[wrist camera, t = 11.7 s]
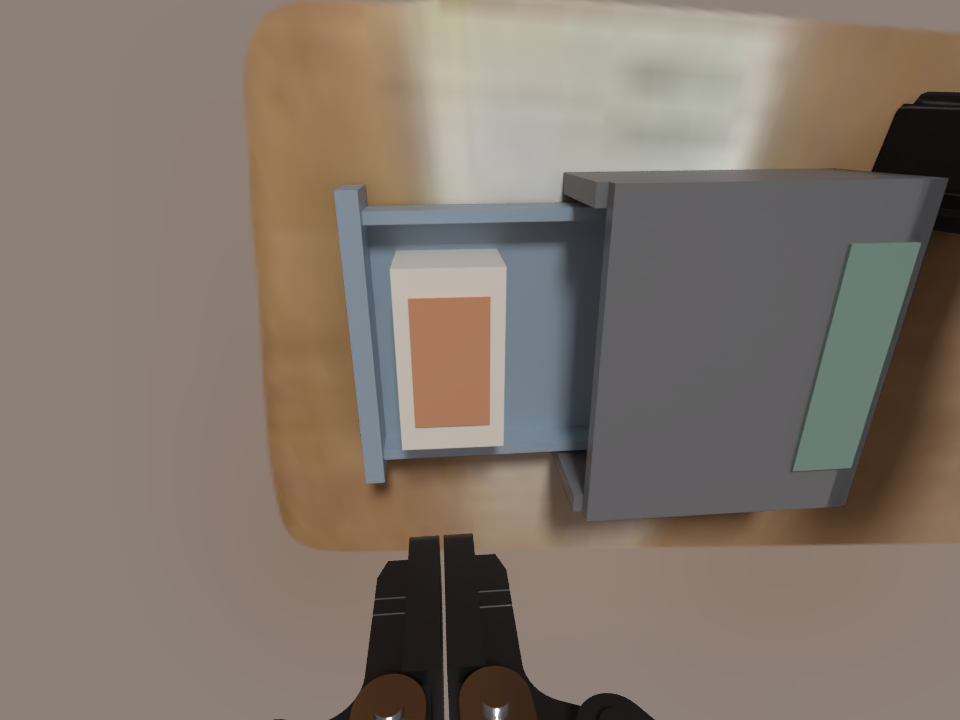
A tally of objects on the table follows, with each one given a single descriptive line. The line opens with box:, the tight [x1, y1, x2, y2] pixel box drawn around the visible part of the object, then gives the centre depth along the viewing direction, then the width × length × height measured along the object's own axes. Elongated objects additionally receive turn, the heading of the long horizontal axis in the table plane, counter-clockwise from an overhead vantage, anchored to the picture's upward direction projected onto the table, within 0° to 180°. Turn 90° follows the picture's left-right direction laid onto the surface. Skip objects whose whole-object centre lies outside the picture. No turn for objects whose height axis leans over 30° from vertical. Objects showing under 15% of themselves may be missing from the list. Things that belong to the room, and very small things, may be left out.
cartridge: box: [390, 249, 507, 450], centre depth 26 cm, size 5×9×4 cm, turn 0°
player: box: [551, 169, 949, 522], centre depth 27 cm, size 14×16×7 cm
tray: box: [334, 185, 607, 484], centre depth 28 cm, size 14×15×3 cm
